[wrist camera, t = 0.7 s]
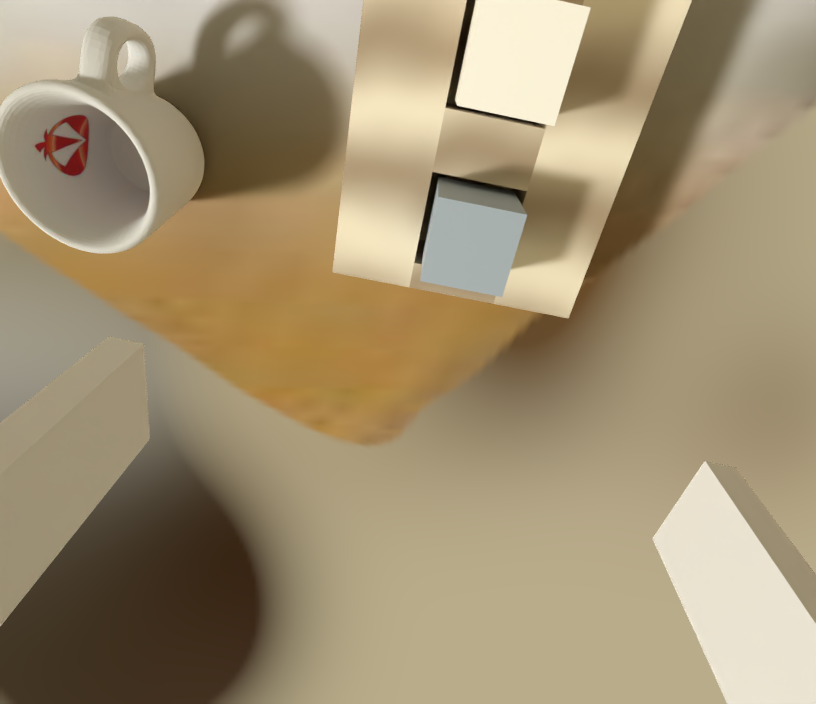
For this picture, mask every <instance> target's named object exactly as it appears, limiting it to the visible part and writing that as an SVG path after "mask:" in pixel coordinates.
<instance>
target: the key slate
mask: <svg viewBox="0 0 816 704" xmlns="http://www.w3.org/2000/svg"><path fill="white" fill-rule="evenodd" d="M526 218H527V213H526V212H525V210H524V208H523V206H522V205H521V203H520V201H519V200H518V198H517V196H516V194H515V193H514V192H512V191H507V190H502V189H497V188H492V187H487V186H483V185H478V184H473V183H468V182H463V181H458V180H453V179H448V178H444V177H438V181H437V186H436V191H435V196H434V201H433V205H432V210H431V215H430V220H429V225H428V230H427V234H426V239H425V244H424V249H423V258H422V268H421V278H420V281H422V282H427V283H432V284H438V285H443V286H448V287H453V288H458V289H463V290H468V291H473V292H478V293H483V294H489V295H494V296H499V297H502V296H503V293H504V289H505V286H506V283H507V280H508V276H509V273H510V270H511V267H512V263H513V260H514V257H515V254H516V250H517V247H518V244H519V241H520V237H521V234H522V231H523V227H524V224H525V221H526Z"/></svg>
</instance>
